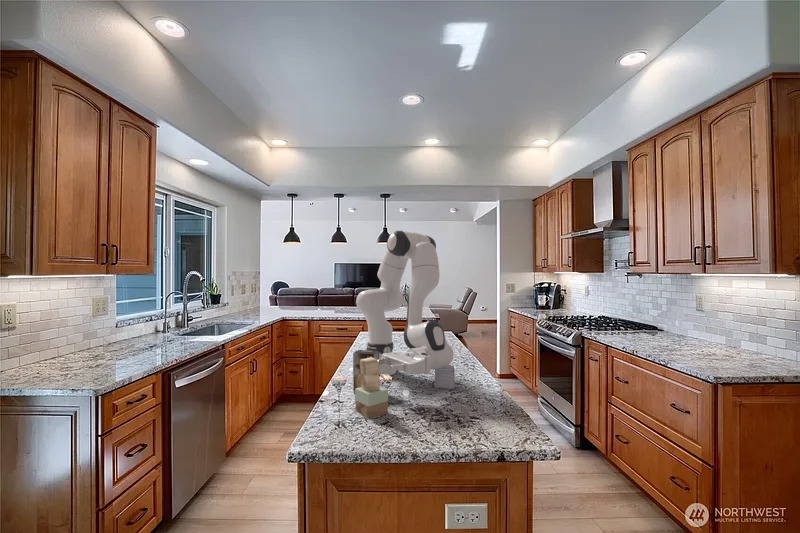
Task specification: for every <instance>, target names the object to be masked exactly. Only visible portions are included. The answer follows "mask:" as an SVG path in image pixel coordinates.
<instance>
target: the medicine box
mask: <svg viewBox="0 0 800 533" xmlns="http://www.w3.org/2000/svg"><path fill="white" fill-rule="evenodd" d="M455 374H456V373H455V365H453V364H452V365H451V364H449V365H448V366H446V367H443V368H439V369H434V388H435V389H447V390H449V389H451V390H455V379H456V378H455V376H456V375H455Z"/></svg>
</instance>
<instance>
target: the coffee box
mask: <svg viewBox="0 0 800 533" xmlns="http://www.w3.org/2000/svg"><path fill="white" fill-rule="evenodd" d="M370 357H372V358H375V359H379V351H370V350H367V349H366V350H365V349H358V350H357V349H356V350H355V351H354V352H353V353H352V368H353V369H352V371H353V372H352V377H353V382H352V383H353V385H352V388H353V389H352V390H353V391H352V394H354V395H355V388H360V387H362V386H361V368H360V360H361V359H366V358H370Z"/></svg>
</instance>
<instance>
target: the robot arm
mask: <svg viewBox="0 0 800 533" xmlns="http://www.w3.org/2000/svg"><path fill="white" fill-rule="evenodd" d="M386 246H387V248H386V250H385V251H384V255H383V257H382V260H381V262H380V265H379V268H378V271H377V278H378V279H379V281H380V287H379V288H377V289H376V288H375V289H371V288H370V289H366V290H364V291H360V292H359V293H358V295H357V296H356V300H355V304H356V307H357V309H358V311H359V312H360V313H361V314H362V315H363V316H364V317H365V318H364V319H365V321H366V324H367V330H368V334H367V335H368V342H367V343H365V346H366V348H365V349H366V350H370V351H379V359H378V365H379V375H381V374H389V376H392V375H395V374H396V373H397V371H398V372H401V371H402V372H404V373H406V374H408V375H429V374H431V370H432V371H433V370H434V371H435V369H439V368H443V367H446V366H448V365H451V364H452V362H453V360H454V350H453V349H454V348H452V346H451V345H450V344H449V343H448V341H447V338H446V337H445V336H446V335H445V331H444V330H445V329H444V327H443V326H442V325H441V324H440V322H438V321H437V320H428V321H425V322H423V305H424V302H425V299H426V298H427V297H428V296H429V295H430V294H431V293H432V292H433V291H434V290H435V289H436V287H437V286H438V284H439V282H440V264H439V257H438V253H437V243H436V241H435V239H433V237H432V236H429V235H427V234H426V235H424V234H422V233H418V232H412V231H403V230H394V231H392V232H391V233H390V234H389V236H388V237H387V241H386ZM408 260H410V261H411V264H410V265H411V281H410V286H409V290H408V295H407V311H406V313H407V314H406V325H405V327H404V331H403V341H404V344H405V346H406V347H407V348H409V349H408V350H407V351H406V353H402V352H397V351H396V352H395V351H393V350H394V341H393V326H392V324H391V322H389V321H388V320H387V318H386V314H385V313H387V312H394V311H397V310H398V309H400V308H401V307H402V306H403V304H404V296H403V293H402V291H401V289H400V288H401V287H400V286H401V281H402V279H403V275H404V273H405V269H406V267H407V263H408Z"/></svg>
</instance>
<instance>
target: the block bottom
mask: <svg viewBox="0 0 800 533" xmlns="http://www.w3.org/2000/svg"><path fill="white" fill-rule="evenodd" d="M388 408H389V401H387V402H384V403H380V404H376V405H373V406H366V405H364V404H362V403H360V402H358V401H356V400H355V412H357V413H359V414H360V415H361V416H363V417H365V418H367V419H368V418H372V417H376V416H381V415H387V414H388V413H389V409H388Z"/></svg>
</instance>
